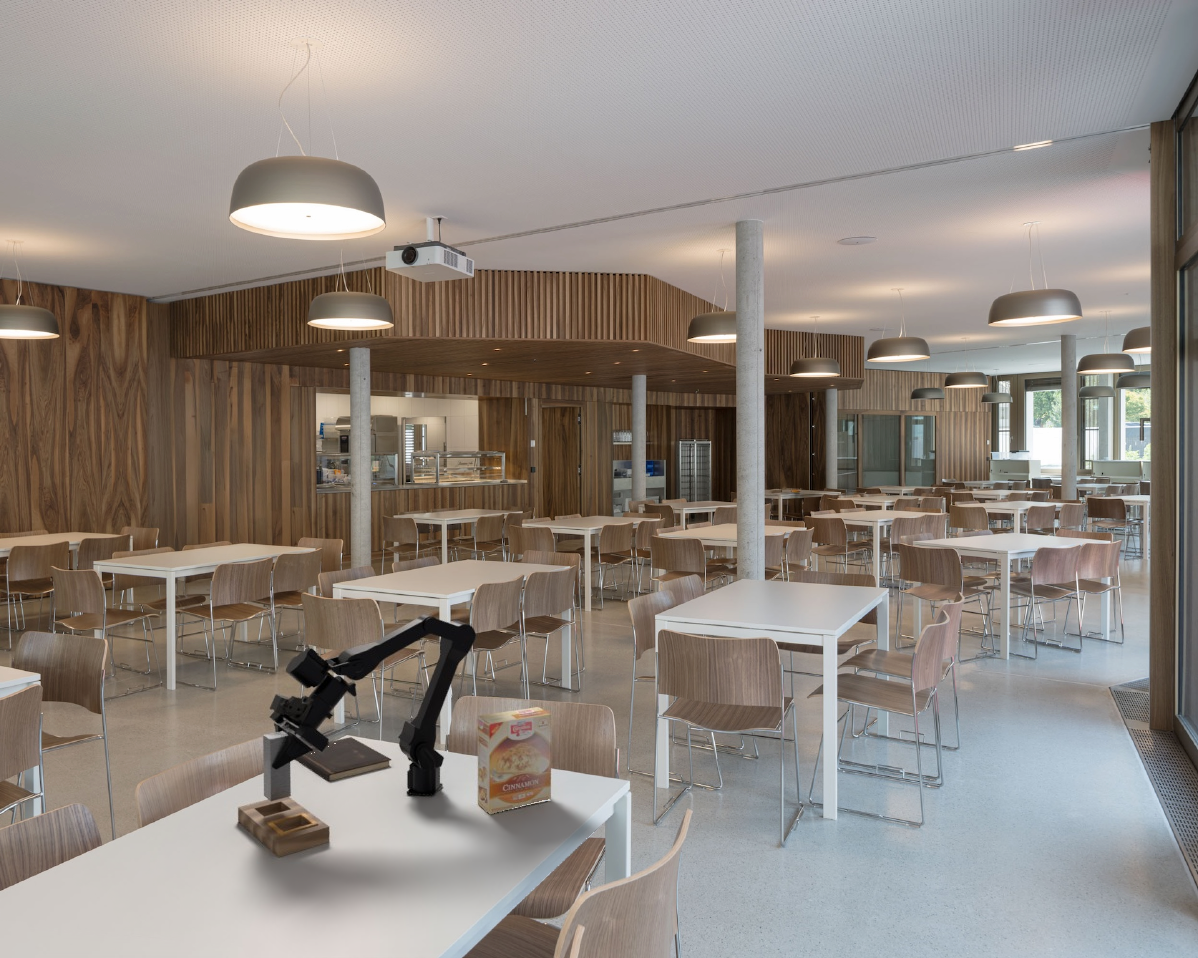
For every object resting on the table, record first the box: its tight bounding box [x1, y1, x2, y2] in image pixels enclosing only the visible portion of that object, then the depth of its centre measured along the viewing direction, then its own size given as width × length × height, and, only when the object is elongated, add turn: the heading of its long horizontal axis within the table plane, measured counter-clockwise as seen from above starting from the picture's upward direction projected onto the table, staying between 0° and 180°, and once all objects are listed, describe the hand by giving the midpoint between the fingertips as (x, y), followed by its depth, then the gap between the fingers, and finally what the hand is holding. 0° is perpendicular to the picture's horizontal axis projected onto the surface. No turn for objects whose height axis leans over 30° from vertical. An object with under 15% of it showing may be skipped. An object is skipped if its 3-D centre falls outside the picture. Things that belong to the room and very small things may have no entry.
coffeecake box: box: [477, 706, 552, 815], centre depth 184 cm, size 15×7×20 cm, turn 120°
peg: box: [262, 731, 292, 801], centre depth 172 cm, size 4×4×12 cm
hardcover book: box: [295, 736, 392, 782], centre depth 211 cm, size 16×23×2 cm
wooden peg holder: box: [237, 796, 330, 858], centre depth 170 cm, size 22×10×3 cm, turn 42°
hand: (270, 765), depth 171 cm, fingers closed on peg, 4 cm apart
